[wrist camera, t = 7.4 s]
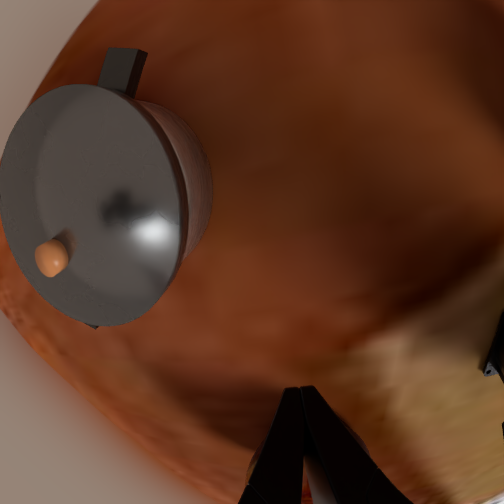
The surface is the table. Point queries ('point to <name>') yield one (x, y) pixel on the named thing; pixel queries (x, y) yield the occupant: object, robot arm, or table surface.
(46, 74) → the table surface
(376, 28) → the table surface
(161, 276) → the cooker lid
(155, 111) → the cooker pot
